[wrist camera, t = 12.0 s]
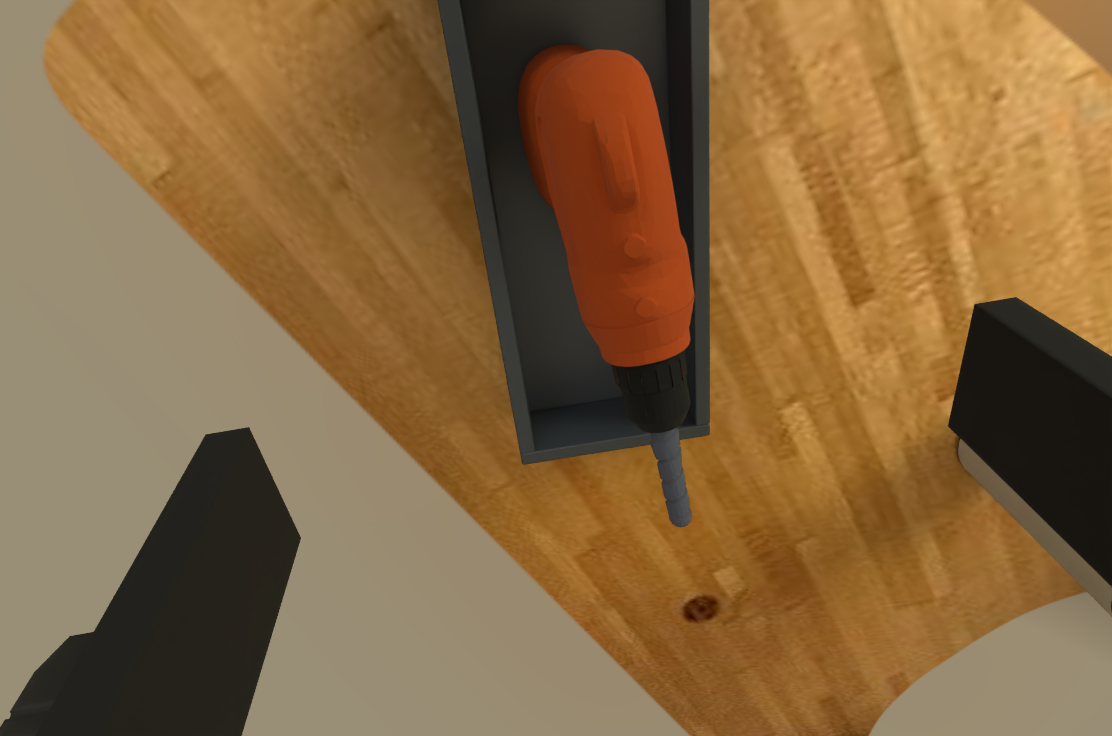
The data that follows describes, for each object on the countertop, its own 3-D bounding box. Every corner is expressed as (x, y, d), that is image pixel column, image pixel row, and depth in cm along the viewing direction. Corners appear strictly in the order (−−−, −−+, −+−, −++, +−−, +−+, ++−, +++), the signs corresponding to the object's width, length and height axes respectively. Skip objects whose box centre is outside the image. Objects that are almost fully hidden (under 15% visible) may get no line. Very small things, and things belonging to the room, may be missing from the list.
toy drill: (590, 408, 39) (637, 587, 25) (502, 60, 31) (501, 43, 18) (672, 387, 39) (765, 556, 25) (603, 33, 31) (682, -6, 18)
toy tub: (434, -51, 29) (427, -56, 25) (677, -84, 29) (709, -94, 25) (517, 418, 41) (522, 465, 37) (687, 392, 42) (710, 435, 38)
